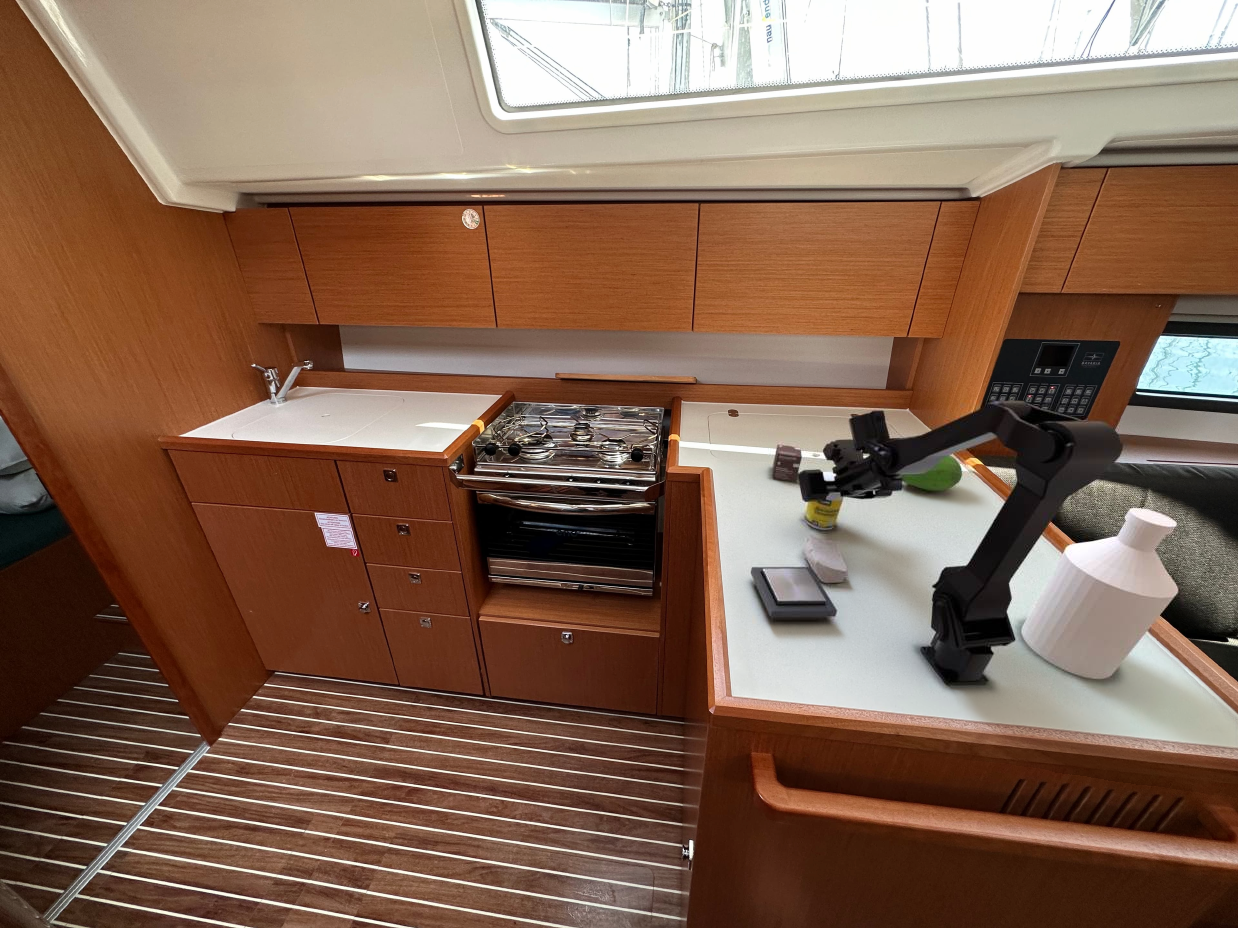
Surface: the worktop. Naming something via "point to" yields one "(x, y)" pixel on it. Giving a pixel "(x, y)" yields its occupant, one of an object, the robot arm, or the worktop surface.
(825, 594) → the scale
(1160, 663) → the worktop surface
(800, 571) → the pan
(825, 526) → the pill bottle
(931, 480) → the fruit
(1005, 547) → the robot arm
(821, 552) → the pale grey rock
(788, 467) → the box
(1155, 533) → the bottle
